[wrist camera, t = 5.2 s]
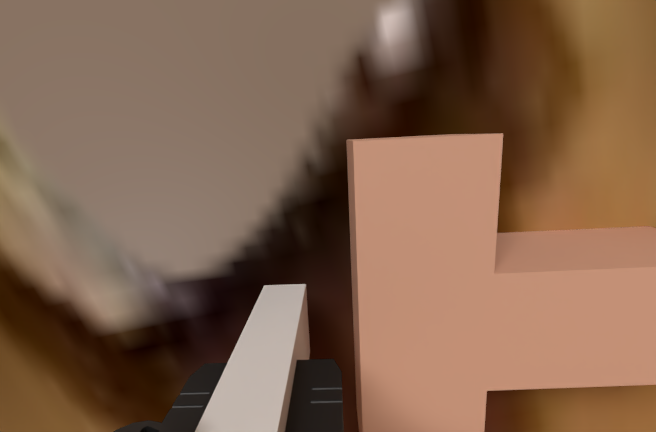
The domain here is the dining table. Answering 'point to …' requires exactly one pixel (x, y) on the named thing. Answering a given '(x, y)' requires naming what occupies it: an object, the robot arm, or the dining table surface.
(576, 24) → the dining table surface
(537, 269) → the t block
